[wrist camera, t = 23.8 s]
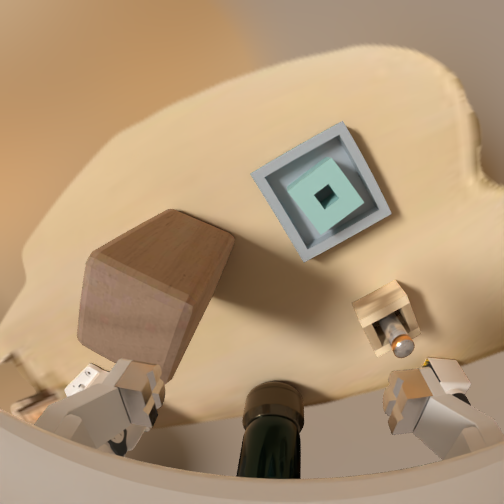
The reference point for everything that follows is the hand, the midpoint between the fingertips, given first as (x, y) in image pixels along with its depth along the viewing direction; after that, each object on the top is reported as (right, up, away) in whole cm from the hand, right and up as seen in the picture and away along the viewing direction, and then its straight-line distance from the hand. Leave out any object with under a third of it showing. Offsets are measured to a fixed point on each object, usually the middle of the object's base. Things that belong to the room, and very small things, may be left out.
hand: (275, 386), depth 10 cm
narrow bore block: (+8, +12, +27) cm, 31 cm away
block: (-9, +5, +33) cm, 34 cm away
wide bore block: (+18, -4, +32) cm, 37 cm away
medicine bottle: (+31, -17, +35) cm, 50 cm away
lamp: (+3, -20, +39) cm, 44 cm away
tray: (+8, +12, +28) cm, 32 cm away
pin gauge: (+18, -4, +32) cm, 37 cm away
